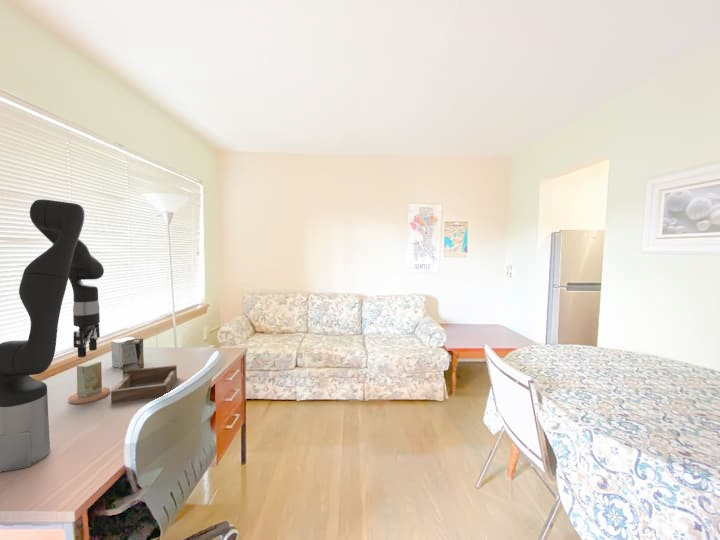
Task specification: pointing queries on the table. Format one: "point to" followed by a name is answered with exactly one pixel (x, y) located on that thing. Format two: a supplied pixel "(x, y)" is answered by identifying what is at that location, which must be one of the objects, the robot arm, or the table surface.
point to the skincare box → (89, 379)
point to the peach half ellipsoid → (89, 397)
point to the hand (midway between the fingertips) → (87, 353)
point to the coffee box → (132, 355)
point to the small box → (118, 351)
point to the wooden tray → (144, 376)
